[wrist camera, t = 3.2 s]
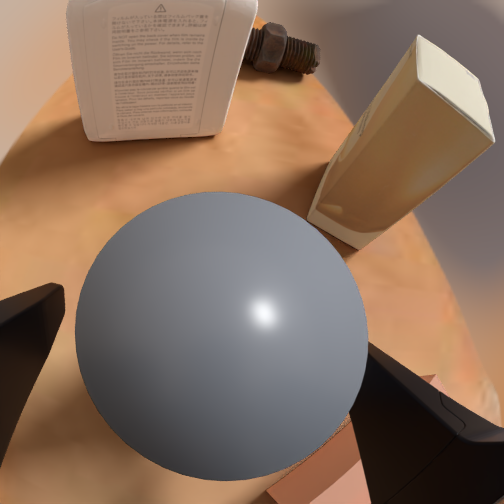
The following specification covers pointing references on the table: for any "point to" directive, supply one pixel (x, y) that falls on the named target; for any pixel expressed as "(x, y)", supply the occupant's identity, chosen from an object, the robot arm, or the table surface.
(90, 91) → the photo printer
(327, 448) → the tray
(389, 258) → the table surface
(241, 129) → the table surface
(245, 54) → the bolt
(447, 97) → the skincare box
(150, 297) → the grey dome-topped post
